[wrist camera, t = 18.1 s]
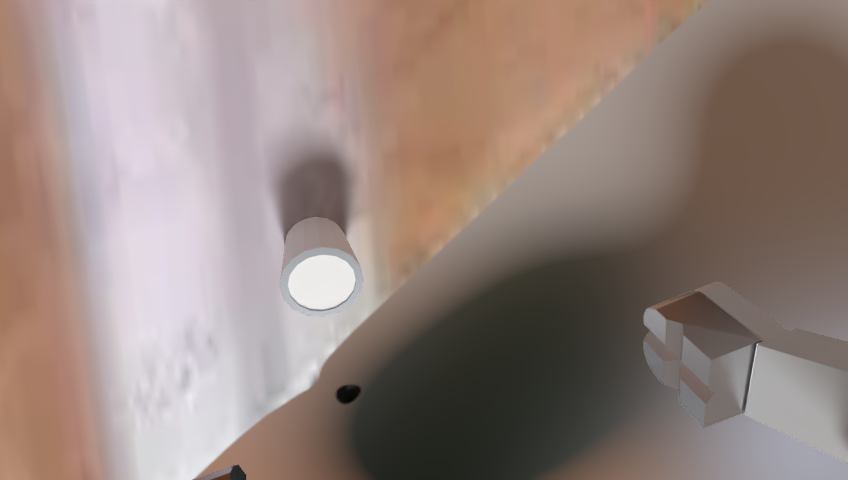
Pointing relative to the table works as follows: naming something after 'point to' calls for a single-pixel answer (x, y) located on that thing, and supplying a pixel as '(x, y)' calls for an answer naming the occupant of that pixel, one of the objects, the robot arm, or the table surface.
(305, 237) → the white cylinder
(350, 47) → the table surface
